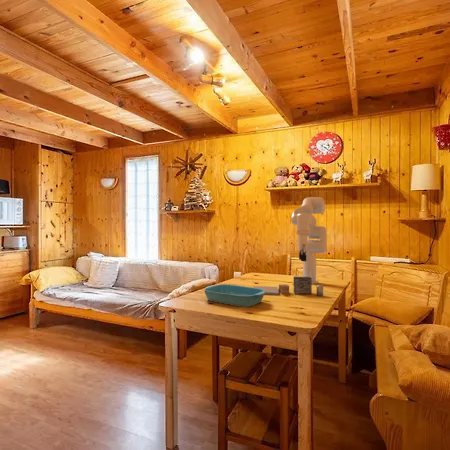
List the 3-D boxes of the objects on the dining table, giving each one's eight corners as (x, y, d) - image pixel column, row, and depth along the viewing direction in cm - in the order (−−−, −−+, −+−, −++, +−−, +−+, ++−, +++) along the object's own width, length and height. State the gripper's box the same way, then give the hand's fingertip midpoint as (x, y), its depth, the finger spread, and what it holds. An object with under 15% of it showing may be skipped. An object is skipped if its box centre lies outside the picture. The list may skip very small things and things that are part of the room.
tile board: (253, 288, 212) (253, 286, 212) (277, 289, 210) (277, 286, 210) (252, 294, 194) (252, 291, 194) (278, 295, 192) (278, 292, 192)
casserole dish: (196, 300, 178) (196, 288, 178) (219, 293, 197) (219, 282, 197) (252, 311, 157) (252, 297, 157) (272, 302, 176) (272, 289, 176)
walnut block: (278, 292, 200) (278, 284, 200) (286, 292, 201) (286, 284, 201) (281, 294, 195) (281, 286, 195) (289, 293, 196) (289, 285, 196)
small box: (310, 292, 200) (310, 276, 200) (311, 295, 193) (312, 278, 193) (293, 292, 201) (293, 275, 201) (294, 294, 194) (294, 277, 194)
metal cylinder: (316, 294, 194) (316, 285, 194) (322, 294, 194) (322, 285, 194) (317, 296, 190) (317, 286, 190) (323, 296, 190) (323, 286, 190)
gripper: (295, 232, 206) (295, 258, 206) (298, 233, 189) (298, 261, 188) (307, 233, 205) (306, 259, 205) (311, 233, 188) (310, 262, 188)
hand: (302, 260), depth 197 cm, fingers open, 9 cm apart
